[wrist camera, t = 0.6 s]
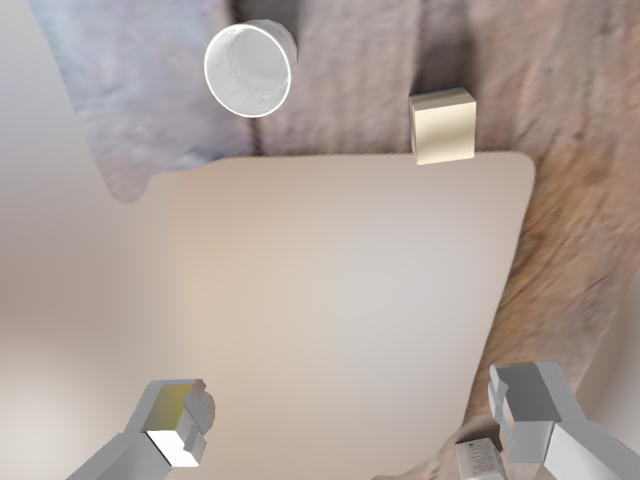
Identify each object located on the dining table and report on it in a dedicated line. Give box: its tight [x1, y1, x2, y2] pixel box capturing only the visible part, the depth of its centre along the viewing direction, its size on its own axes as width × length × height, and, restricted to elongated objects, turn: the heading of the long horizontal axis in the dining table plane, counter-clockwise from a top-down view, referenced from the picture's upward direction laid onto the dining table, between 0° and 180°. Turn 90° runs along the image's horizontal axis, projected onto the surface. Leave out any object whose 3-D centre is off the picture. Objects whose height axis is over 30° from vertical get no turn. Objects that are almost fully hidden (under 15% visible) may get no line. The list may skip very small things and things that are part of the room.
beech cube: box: [409, 87, 476, 165], centre depth 44 cm, size 6×6×6 cm
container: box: [455, 437, 507, 480], centre depth 82 cm, size 8×8×13 cm
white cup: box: [204, 19, 298, 117], centre depth 39 cm, size 8×8×10 cm
